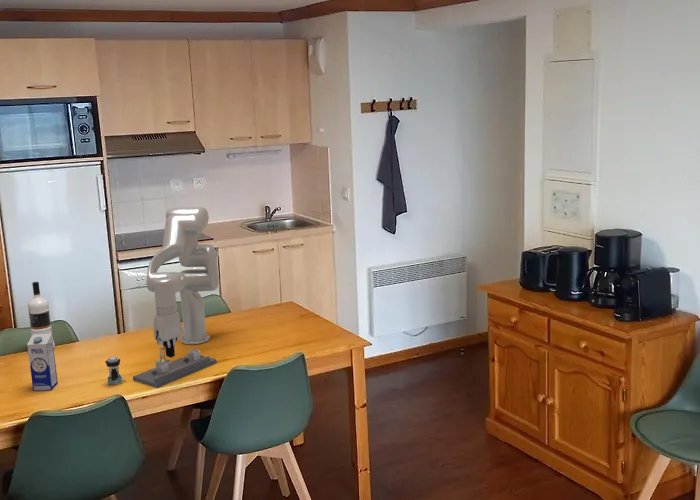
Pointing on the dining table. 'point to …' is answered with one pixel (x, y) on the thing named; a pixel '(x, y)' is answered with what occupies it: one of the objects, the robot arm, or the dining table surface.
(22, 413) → the dining table surface
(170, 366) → the bolt plate
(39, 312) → the vodka
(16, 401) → the dining table surface
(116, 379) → the push button
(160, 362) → the sliding leg
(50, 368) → the milk carton
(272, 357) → the dining table surface
